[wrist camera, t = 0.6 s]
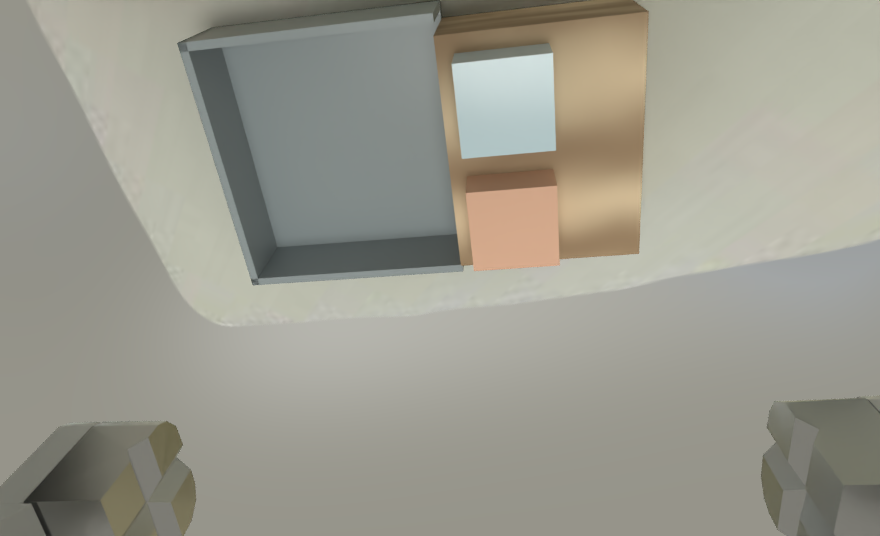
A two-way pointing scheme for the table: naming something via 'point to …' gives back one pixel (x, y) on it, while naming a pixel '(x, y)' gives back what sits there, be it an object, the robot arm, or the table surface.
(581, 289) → the table surface
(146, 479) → the robot arm
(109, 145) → the table surface
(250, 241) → the tray
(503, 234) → the tile terracotta
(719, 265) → the table surface
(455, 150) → the wooden block
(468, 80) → the tile blue
